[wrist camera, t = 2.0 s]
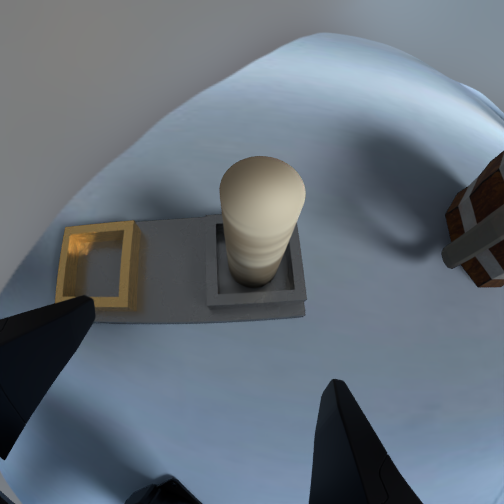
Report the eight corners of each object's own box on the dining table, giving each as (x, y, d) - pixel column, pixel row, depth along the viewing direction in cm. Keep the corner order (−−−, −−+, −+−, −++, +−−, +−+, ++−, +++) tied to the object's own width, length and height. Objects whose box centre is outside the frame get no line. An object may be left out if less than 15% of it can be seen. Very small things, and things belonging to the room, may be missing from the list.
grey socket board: (290, 219, 26) (296, 201, 23) (302, 317, 23) (311, 311, 20) (80, 232, 25) (65, 218, 22) (70, 321, 22) (52, 316, 19)
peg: (287, 268, 23) (322, 197, 13) (248, 297, 22) (256, 245, 12) (256, 232, 24) (268, 144, 14) (218, 259, 23) (202, 182, 13)
